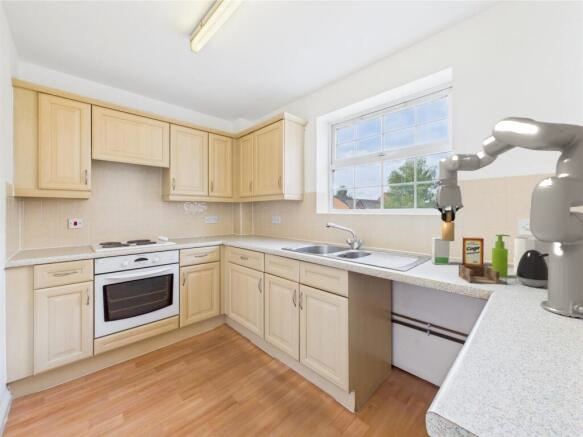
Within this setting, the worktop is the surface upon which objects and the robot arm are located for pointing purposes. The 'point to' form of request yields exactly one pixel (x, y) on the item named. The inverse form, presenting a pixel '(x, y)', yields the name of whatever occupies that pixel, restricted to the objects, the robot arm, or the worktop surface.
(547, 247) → the container
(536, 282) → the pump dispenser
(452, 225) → the amber bottle
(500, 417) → the worktop surface
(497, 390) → the worktop surface
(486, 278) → the open wooden box
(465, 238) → the baking soda box
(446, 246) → the skincare box
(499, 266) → the soap dispenser
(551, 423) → the worktop surface
